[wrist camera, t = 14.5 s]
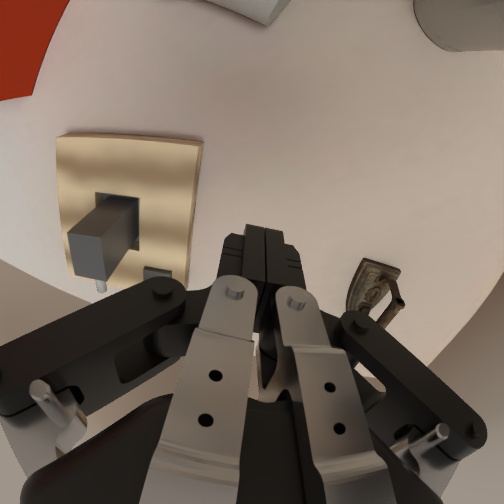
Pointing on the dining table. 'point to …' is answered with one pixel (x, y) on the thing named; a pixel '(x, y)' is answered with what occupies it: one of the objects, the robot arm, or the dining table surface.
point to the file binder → (25, 42)
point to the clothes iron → (375, 290)
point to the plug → (103, 238)
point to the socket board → (133, 196)
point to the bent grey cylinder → (255, 8)
